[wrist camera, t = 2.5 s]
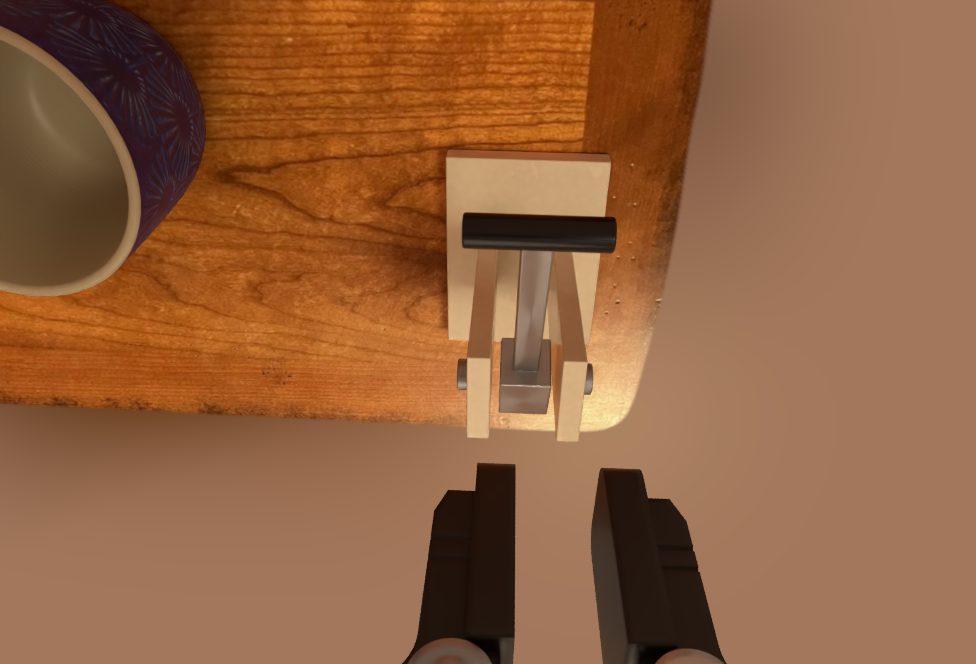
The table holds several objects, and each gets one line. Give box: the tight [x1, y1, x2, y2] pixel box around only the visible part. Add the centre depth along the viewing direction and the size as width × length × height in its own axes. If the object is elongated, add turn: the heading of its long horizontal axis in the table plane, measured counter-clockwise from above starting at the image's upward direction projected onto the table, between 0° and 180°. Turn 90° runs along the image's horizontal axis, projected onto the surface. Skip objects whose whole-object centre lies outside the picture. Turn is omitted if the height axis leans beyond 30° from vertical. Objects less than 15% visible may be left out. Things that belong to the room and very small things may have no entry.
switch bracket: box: [446, 149, 611, 442], centre depth 36 cm, size 12×9×15 cm
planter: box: [0, 0, 206, 296], centre depth 34 cm, size 12×12×11 cm
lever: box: [462, 212, 617, 414], centre depth 28 cm, size 12×5×2 cm, turn 178°
